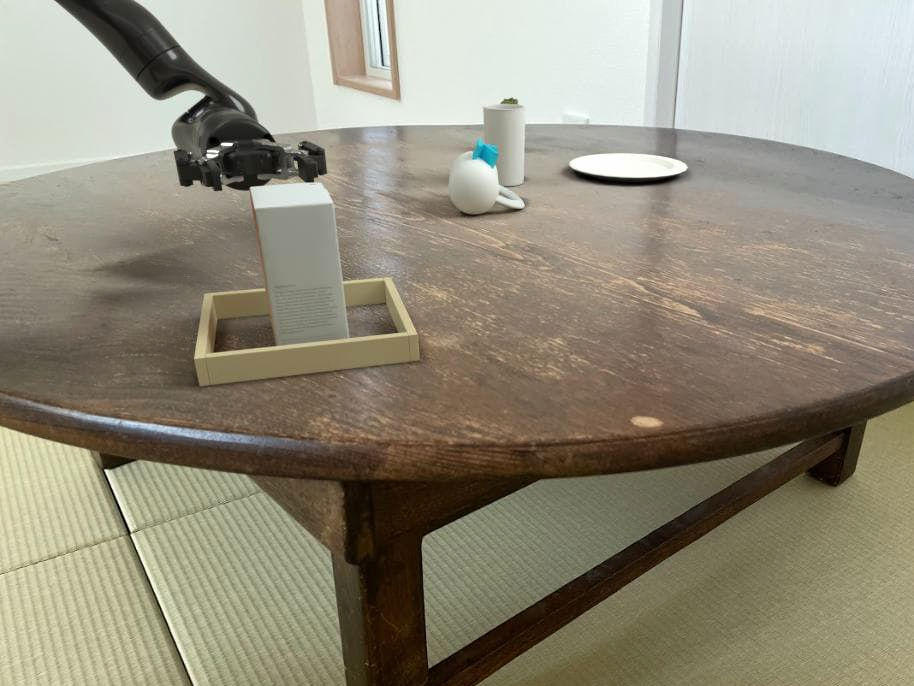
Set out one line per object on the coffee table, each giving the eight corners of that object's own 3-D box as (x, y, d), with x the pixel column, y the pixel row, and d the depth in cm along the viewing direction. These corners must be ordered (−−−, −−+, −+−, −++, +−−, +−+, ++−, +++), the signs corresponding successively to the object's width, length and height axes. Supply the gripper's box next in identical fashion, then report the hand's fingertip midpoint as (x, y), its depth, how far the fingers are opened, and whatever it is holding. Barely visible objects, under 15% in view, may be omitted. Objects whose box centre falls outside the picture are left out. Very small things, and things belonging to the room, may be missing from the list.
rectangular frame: (200, 392, 63) (193, 358, 62) (209, 322, 77) (204, 293, 75) (420, 366, 68) (417, 334, 67) (393, 304, 81) (390, 276, 80)
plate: (687, 164, 148) (688, 155, 147) (686, 189, 130) (687, 178, 129) (576, 159, 151) (576, 150, 150) (559, 183, 133) (560, 172, 132)
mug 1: (531, 185, 131) (531, 108, 126) (493, 188, 129) (491, 110, 123) (508, 173, 140) (508, 100, 134) (472, 176, 137) (470, 102, 132)
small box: (270, 326, 75) (247, 185, 69) (338, 318, 77) (323, 180, 71) (276, 359, 68) (252, 207, 62) (351, 350, 70) (335, 201, 64)
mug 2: (464, 144, 107) (465, 130, 118) (439, 207, 111) (443, 188, 121) (543, 180, 110) (537, 163, 120) (517, 239, 113) (514, 218, 124)
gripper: (305, 177, 93) (342, 208, 80) (173, 189, 87) (191, 223, 74) (297, 109, 89) (334, 130, 77) (159, 116, 83) (175, 139, 71)
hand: (264, 176), depth 75 cm, fingers open, 8 cm apart
